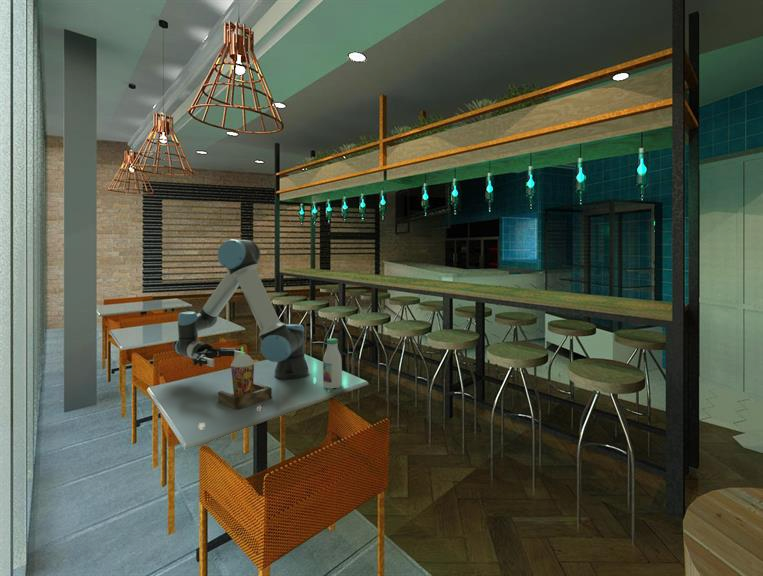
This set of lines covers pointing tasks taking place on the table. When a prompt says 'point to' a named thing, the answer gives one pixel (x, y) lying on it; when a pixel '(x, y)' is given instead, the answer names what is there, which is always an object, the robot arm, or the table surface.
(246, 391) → the smoothie
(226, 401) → the holder
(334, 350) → the milk bottle
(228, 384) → the table surface
